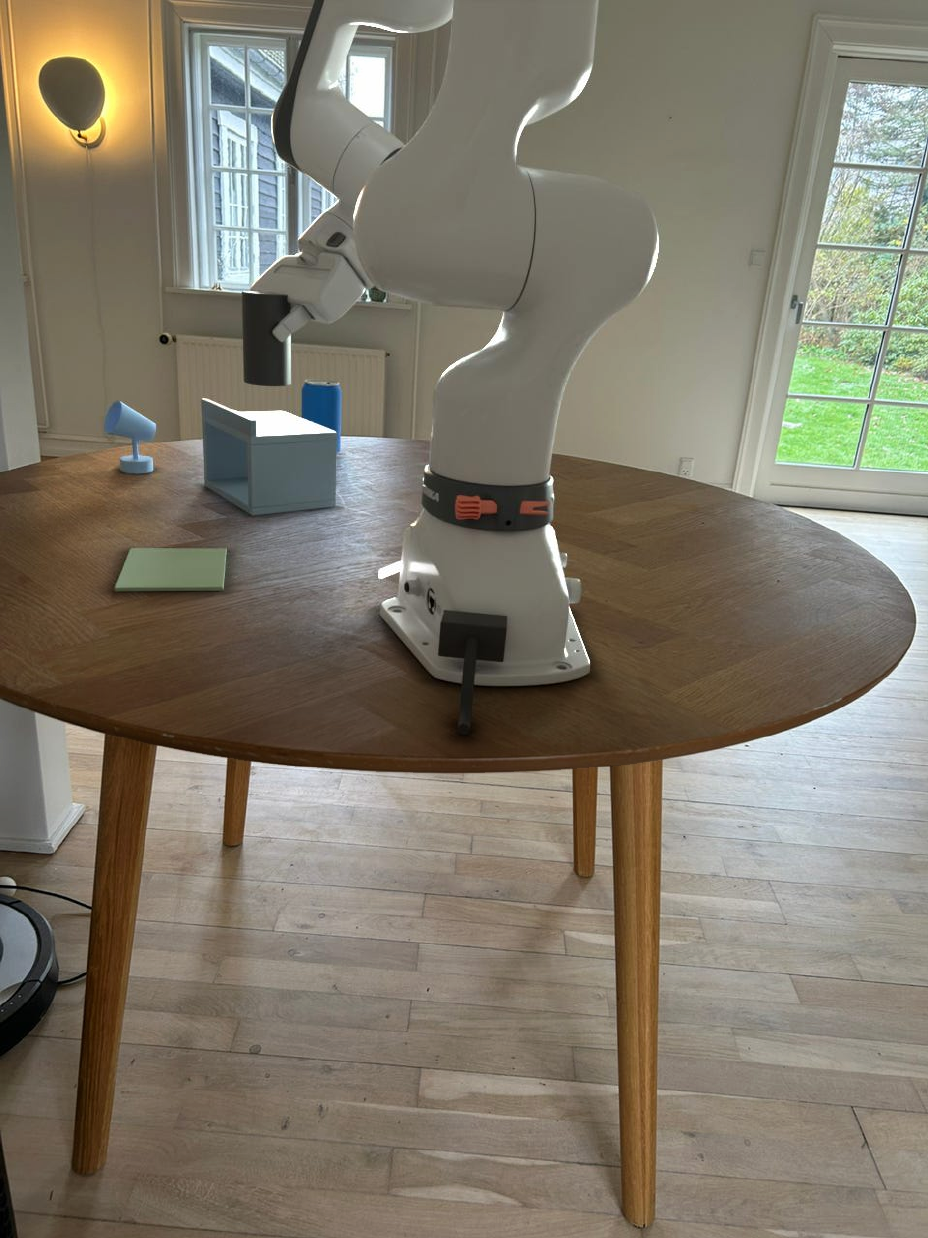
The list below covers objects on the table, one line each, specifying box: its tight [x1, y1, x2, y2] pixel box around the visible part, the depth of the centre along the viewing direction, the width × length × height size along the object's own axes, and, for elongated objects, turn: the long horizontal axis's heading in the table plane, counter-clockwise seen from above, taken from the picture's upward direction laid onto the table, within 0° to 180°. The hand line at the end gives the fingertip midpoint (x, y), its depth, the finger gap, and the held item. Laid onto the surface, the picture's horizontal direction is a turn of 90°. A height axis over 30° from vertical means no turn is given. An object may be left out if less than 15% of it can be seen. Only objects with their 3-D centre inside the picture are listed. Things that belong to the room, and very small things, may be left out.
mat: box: [114, 547, 227, 592], centre depth 88 cm, size 12×10×1 cm
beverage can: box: [300, 378, 343, 454], centre depth 141 cm, size 6×6×12 cm
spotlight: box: [103, 400, 157, 474], centre depth 122 cm, size 5×10×7 cm
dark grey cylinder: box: [241, 290, 292, 387], centre depth 109 cm, size 6×6×11 cm
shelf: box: [200, 397, 338, 517], centre depth 115 cm, size 16×12×12 cm
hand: (262, 334), depth 109 cm, fingers closed on dark grey cylinder, 6 cm apart
